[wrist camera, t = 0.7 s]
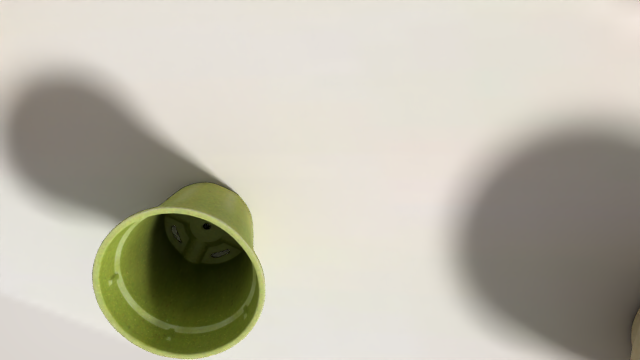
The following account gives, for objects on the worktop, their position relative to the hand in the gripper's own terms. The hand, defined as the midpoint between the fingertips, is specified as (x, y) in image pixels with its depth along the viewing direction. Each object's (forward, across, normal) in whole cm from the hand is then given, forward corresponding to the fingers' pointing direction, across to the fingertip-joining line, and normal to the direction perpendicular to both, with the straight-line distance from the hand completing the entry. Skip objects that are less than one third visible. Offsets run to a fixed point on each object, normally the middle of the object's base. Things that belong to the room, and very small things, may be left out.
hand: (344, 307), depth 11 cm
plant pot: (+27, -6, -13) cm, 31 cm away
